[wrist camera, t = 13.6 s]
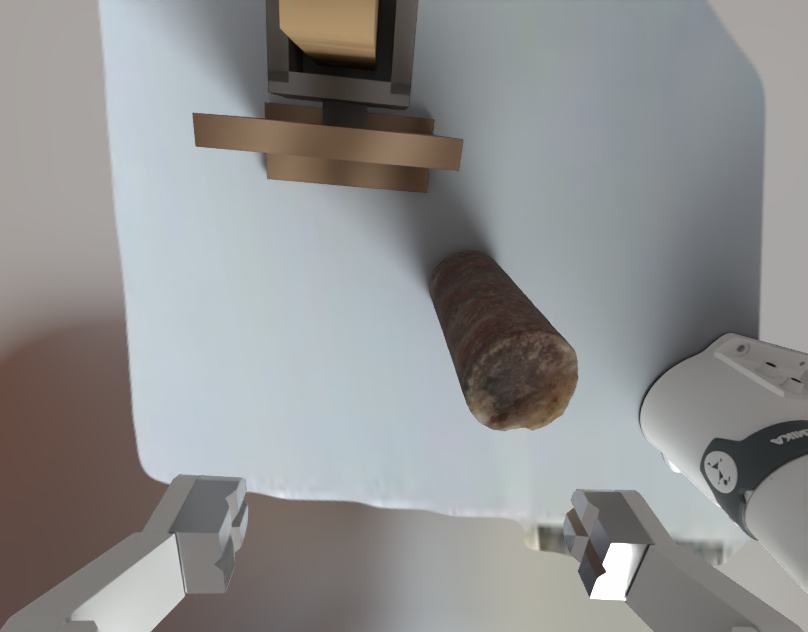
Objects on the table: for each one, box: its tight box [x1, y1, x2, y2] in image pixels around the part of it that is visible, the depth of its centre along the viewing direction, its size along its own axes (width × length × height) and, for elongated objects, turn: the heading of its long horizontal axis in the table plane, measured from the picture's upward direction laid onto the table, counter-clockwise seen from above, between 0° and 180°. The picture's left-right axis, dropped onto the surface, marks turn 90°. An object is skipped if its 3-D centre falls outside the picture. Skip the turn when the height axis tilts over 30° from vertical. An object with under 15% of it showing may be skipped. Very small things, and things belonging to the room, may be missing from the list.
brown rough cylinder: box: [430, 251, 578, 431], centre depth 34 cm, size 8×7×20 cm
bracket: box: [193, 0, 463, 193], centre depth 29 cm, size 14×15×16 cm
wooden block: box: [279, 0, 380, 71], centre depth 23 cm, size 4×4×12 cm
